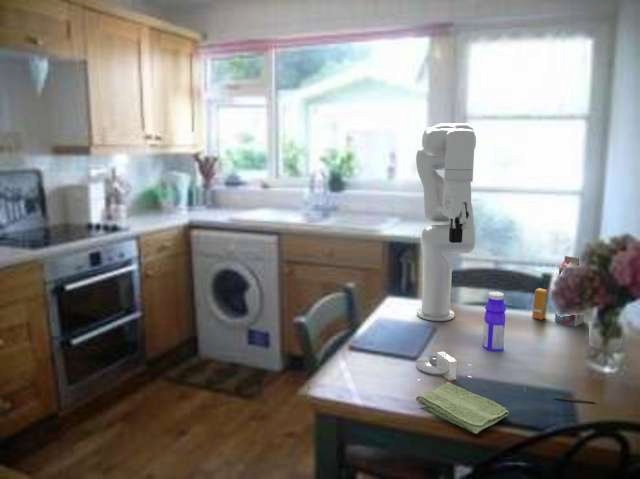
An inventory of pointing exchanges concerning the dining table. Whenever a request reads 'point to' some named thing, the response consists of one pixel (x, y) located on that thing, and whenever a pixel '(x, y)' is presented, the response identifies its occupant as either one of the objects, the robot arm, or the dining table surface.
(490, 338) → the bottle
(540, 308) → the supplement box
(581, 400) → the fork
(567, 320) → the juice carton
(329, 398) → the dining table surface
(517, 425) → the dining table surface
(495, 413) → the washcloth
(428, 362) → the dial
